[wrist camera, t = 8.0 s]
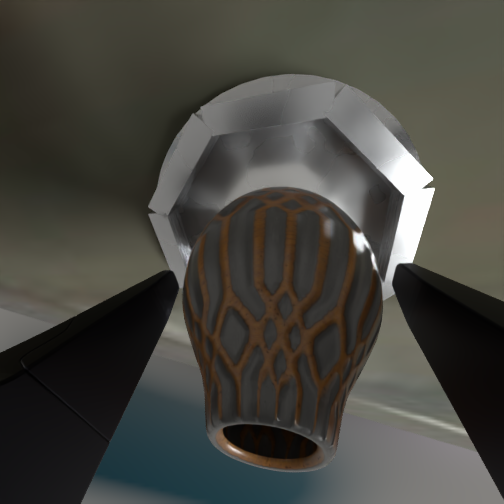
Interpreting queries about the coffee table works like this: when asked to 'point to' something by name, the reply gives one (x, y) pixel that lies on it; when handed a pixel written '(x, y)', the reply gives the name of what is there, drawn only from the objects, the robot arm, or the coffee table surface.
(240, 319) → the vase
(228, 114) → the rosette plate
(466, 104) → the coffee table surface
